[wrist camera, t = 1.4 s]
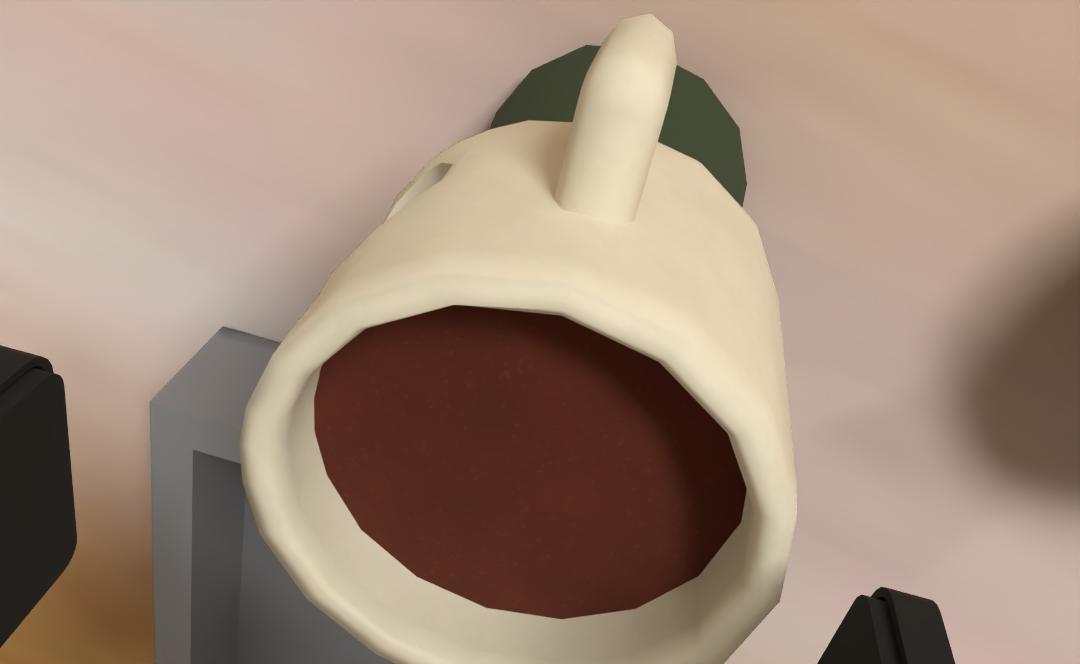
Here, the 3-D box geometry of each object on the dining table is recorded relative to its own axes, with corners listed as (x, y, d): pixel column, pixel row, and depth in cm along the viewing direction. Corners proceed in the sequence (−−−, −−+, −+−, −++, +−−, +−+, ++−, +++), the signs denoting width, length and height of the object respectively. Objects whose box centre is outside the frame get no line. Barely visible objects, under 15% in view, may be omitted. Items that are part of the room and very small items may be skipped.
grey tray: (745, 476, 26) (747, 576, 23) (607, 785, 35) (593, 892, 31) (223, 326, 27) (149, 401, 24) (212, 665, 35) (156, 757, 32)
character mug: (520, -107, 20) (252, 9, 9) (841, -24, 19) (990, 208, 8) (443, 313, 25) (223, 706, 14) (689, 382, 25) (658, 839, 14)
